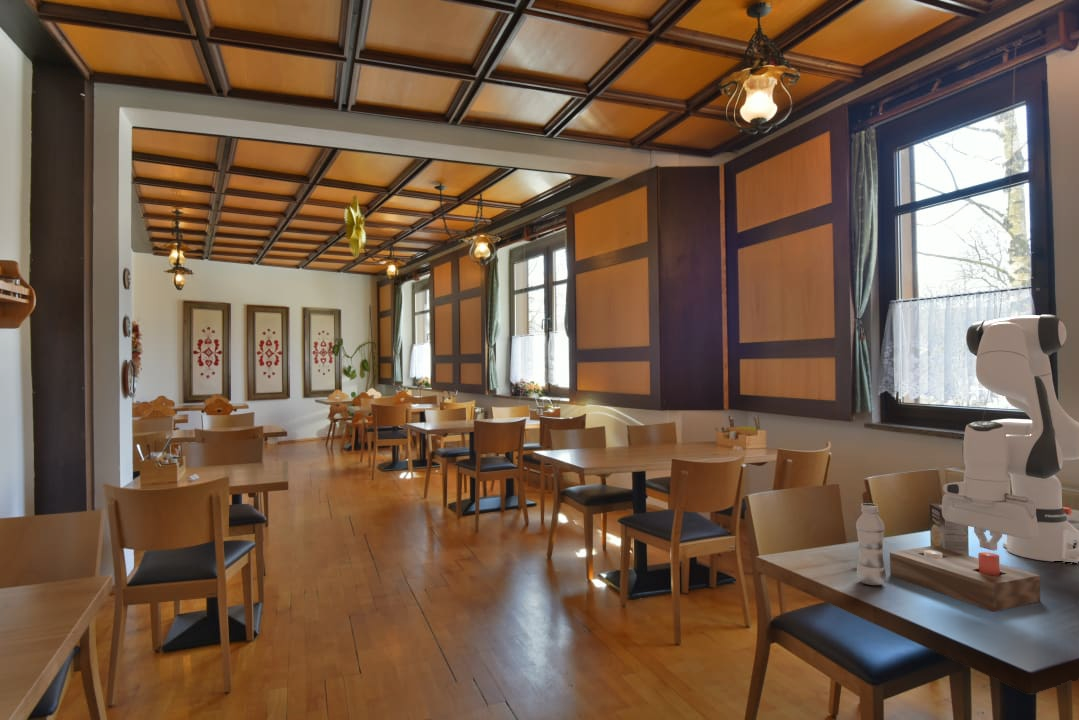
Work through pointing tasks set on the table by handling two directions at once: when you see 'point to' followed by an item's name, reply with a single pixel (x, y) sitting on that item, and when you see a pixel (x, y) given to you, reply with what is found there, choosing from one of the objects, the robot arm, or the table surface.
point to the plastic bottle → (870, 546)
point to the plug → (933, 554)
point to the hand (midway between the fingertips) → (988, 548)
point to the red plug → (989, 563)
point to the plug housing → (965, 578)
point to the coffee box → (947, 532)
